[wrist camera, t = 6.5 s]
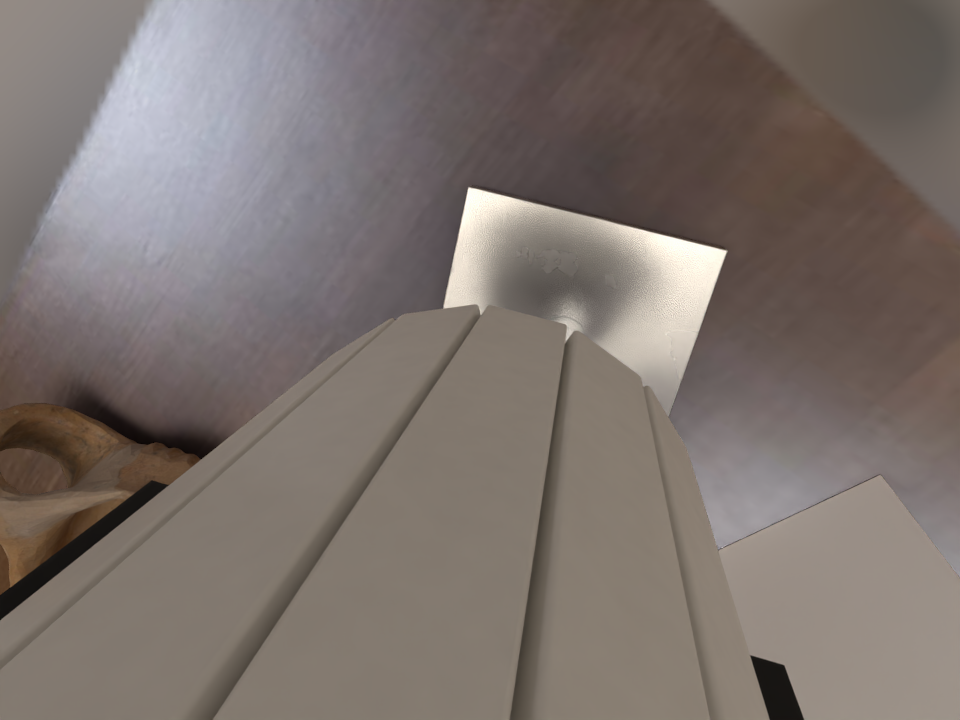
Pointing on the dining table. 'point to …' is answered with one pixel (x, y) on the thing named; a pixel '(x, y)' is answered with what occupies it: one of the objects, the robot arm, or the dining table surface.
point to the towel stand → (588, 280)
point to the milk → (853, 608)
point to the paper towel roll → (408, 554)
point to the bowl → (72, 479)
